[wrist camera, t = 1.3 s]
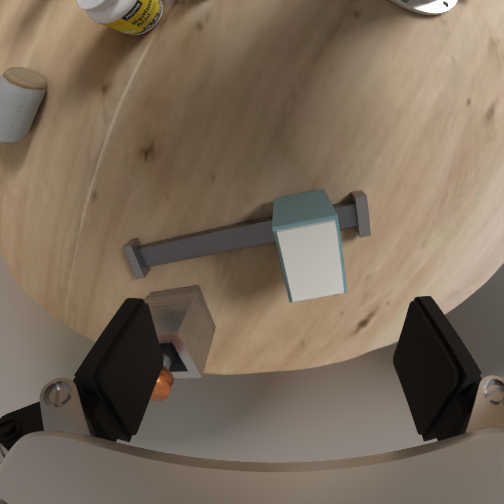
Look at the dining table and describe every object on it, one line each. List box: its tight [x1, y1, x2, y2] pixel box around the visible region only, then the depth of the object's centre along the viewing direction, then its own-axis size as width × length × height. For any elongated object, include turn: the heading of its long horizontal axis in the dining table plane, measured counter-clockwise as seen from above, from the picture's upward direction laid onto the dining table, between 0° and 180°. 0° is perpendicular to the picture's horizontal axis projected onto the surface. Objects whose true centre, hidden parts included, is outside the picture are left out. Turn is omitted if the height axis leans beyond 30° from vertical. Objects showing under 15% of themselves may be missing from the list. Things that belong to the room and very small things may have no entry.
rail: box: [123, 190, 371, 279], centre depth 32 cm, size 27×4×2 cm, turn 104°
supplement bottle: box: [77, 0, 163, 35], centre depth 18 cm, size 5×5×10 cm
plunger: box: [150, 343, 176, 401], centre depth 30 cm, size 4×4×8 cm
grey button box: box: [145, 285, 216, 378], centre depth 34 cm, size 7×7×9 cm
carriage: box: [272, 189, 347, 302], centre depth 27 cm, size 5×7×9 cm
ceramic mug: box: [0, 67, 47, 143], centre depth 23 cm, size 11×8×8 cm
